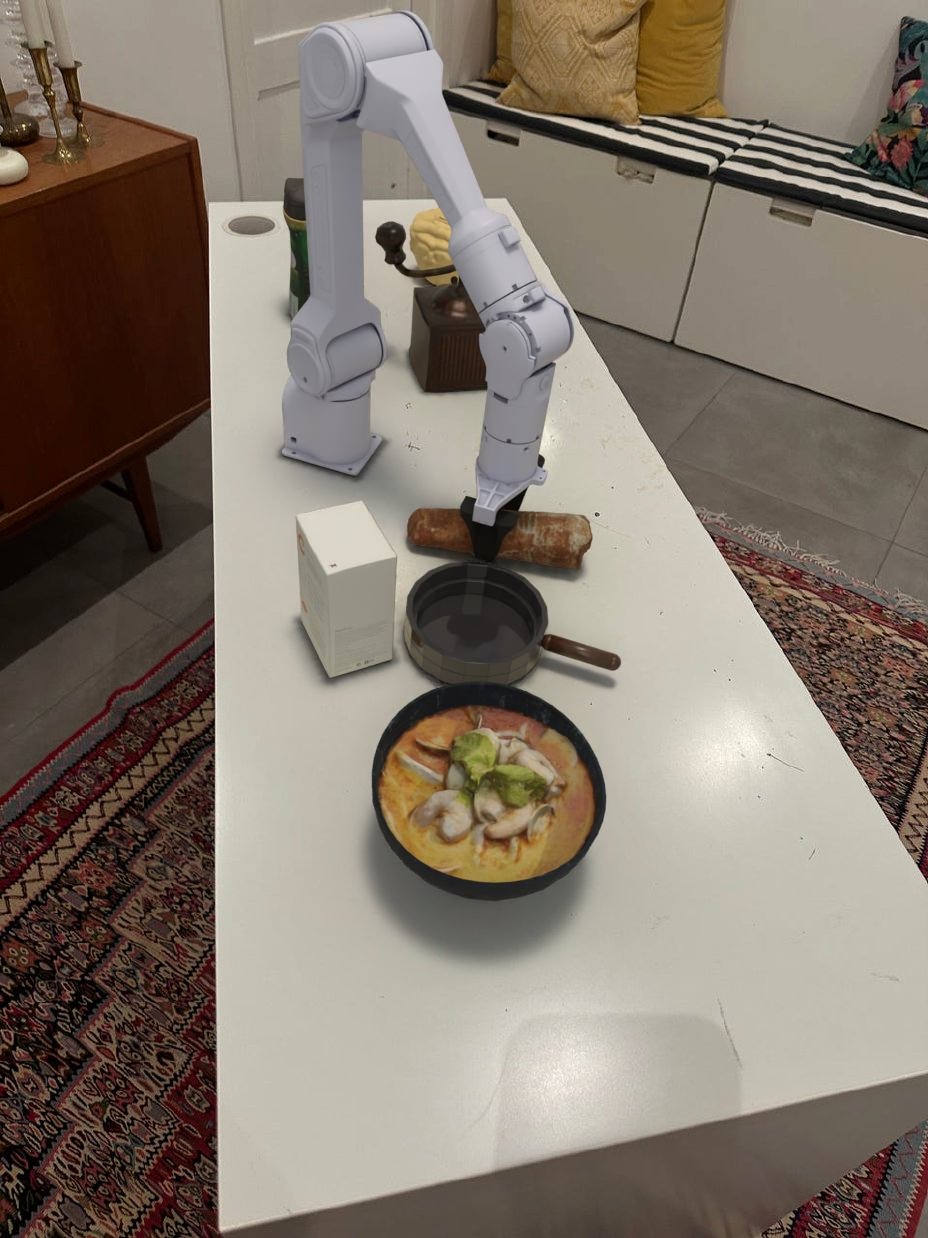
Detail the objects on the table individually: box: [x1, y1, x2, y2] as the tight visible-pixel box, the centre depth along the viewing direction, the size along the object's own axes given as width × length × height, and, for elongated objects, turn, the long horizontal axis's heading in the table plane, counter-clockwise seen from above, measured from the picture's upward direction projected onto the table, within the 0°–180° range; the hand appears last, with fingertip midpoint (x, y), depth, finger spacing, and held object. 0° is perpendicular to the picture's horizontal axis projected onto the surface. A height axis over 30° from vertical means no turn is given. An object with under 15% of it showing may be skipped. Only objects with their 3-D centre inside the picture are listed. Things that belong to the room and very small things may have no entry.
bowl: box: [371, 681, 607, 902], centre depth 65 cm, size 17×17×10 cm
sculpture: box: [409, 206, 459, 287], centre depth 131 cm, size 12×12×11 cm
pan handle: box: [542, 633, 622, 672], centre depth 80 cm, size 8×2×2 cm, turn 71°
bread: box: [406, 507, 593, 570], centre depth 90 cm, size 6×19×6 cm, turn 83°
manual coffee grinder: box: [374, 220, 488, 393], centre depth 110 cm, size 16×11×18 cm
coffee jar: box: [282, 177, 310, 319], centre depth 116 cm, size 10×8×19 cm
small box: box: [295, 500, 398, 678], centre depth 77 cm, size 8×6×13 cm
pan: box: [403, 560, 549, 685], centre depth 82 cm, size 13×13×4 cm
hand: (495, 536), depth 91 cm, fingers open, 7 cm apart
